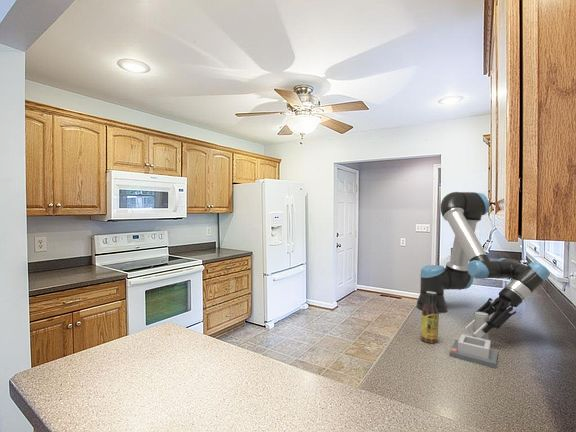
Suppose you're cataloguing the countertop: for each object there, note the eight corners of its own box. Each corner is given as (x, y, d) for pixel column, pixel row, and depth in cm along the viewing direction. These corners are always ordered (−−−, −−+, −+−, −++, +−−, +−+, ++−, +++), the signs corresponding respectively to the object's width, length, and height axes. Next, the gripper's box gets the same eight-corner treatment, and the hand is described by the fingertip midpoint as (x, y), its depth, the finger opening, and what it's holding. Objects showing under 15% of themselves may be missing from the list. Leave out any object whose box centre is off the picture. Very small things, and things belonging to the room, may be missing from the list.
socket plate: (455, 343, 123) (456, 331, 123) (497, 353, 115) (498, 340, 115) (449, 356, 112) (449, 342, 112) (495, 368, 104) (496, 353, 104)
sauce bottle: (428, 344, 122) (429, 294, 122) (417, 338, 128) (418, 290, 128) (441, 343, 124) (442, 293, 123) (430, 337, 130) (431, 290, 129)
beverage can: (474, 339, 128) (475, 310, 128) (488, 342, 125) (489, 313, 124) (472, 343, 124) (473, 313, 124) (487, 346, 121) (487, 316, 121)
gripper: (538, 307, 115) (493, 350, 115) (504, 294, 133) (465, 331, 133) (524, 293, 115) (479, 335, 115) (492, 282, 133) (453, 318, 133)
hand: (471, 333), depth 124 cm, fingers open, 5 cm apart
